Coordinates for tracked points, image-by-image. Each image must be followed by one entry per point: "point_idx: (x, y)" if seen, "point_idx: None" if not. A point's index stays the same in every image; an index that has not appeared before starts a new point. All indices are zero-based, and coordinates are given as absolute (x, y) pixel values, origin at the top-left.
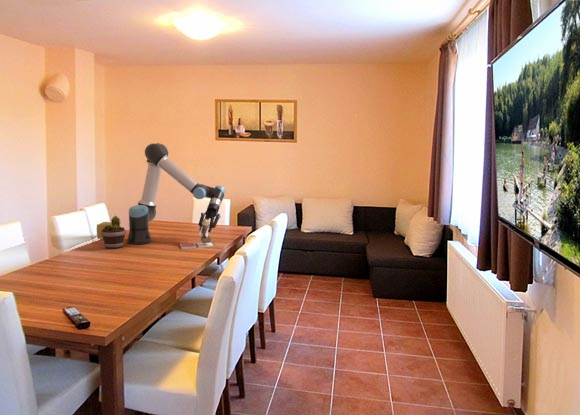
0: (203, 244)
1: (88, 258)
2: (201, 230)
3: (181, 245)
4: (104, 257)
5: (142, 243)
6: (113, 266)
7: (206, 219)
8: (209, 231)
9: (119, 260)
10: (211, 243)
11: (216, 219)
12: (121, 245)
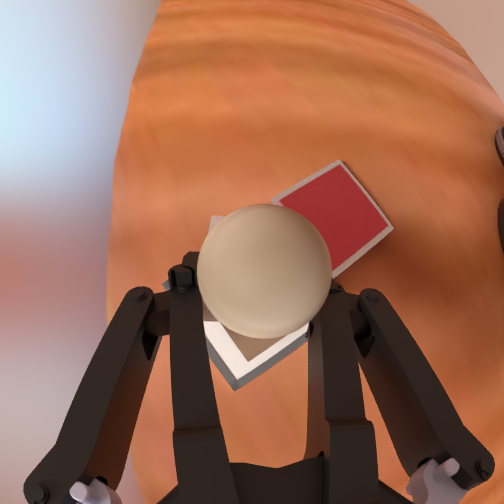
0: None
1: (449, 63)
2: None
3: (361, 190)
4: (436, 65)
5: (500, 206)
6: (355, 13)
7: (246, 250)
8: (188, 256)
9: (388, 40)
10: (219, 346)
11: (81, 383)
12: (499, 146)
